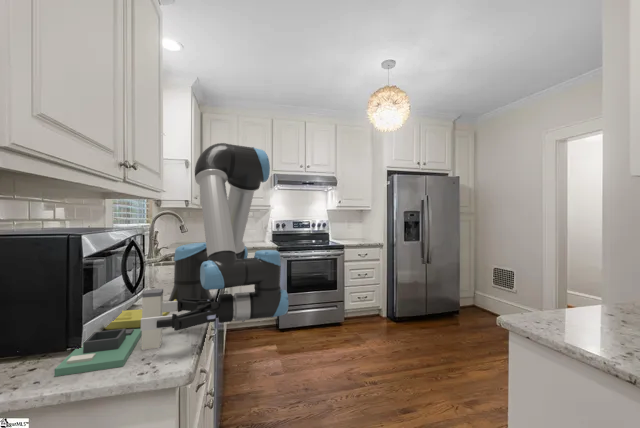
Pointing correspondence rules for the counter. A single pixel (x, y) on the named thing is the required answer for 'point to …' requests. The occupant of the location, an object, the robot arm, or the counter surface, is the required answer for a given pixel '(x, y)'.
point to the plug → (152, 308)
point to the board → (101, 352)
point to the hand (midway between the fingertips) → (146, 315)
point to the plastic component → (129, 319)
